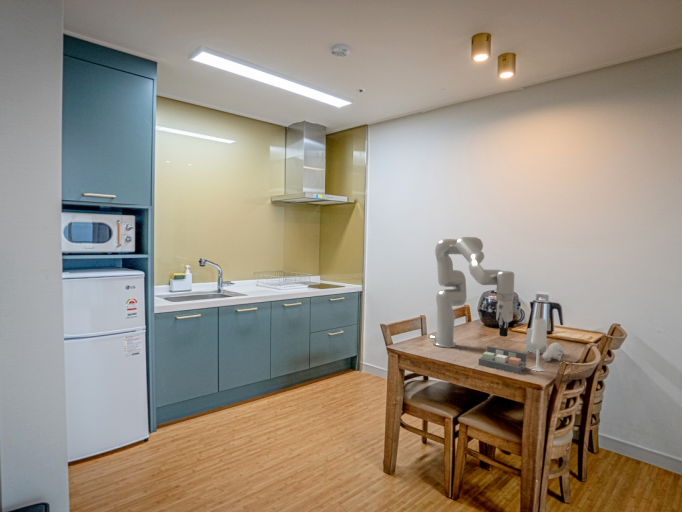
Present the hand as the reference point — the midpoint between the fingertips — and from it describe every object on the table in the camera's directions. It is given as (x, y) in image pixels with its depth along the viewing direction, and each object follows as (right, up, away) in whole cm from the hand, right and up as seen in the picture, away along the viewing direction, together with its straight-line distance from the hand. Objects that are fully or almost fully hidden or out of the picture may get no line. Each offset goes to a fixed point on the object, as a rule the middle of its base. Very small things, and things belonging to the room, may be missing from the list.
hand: (503, 335), depth 189 cm
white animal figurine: (+30, -16, +15) cm, 37 cm away
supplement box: (+30, -15, +30) cm, 45 cm away
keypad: (0, -15, +2) cm, 15 cm away
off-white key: (-1, -12, +1) cm, 12 cm away
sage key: (-5, -12, +5) cm, 14 cm away
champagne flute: (+15, -16, -1) cm, 22 cm away
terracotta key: (+4, -13, -3) cm, 14 cm away
